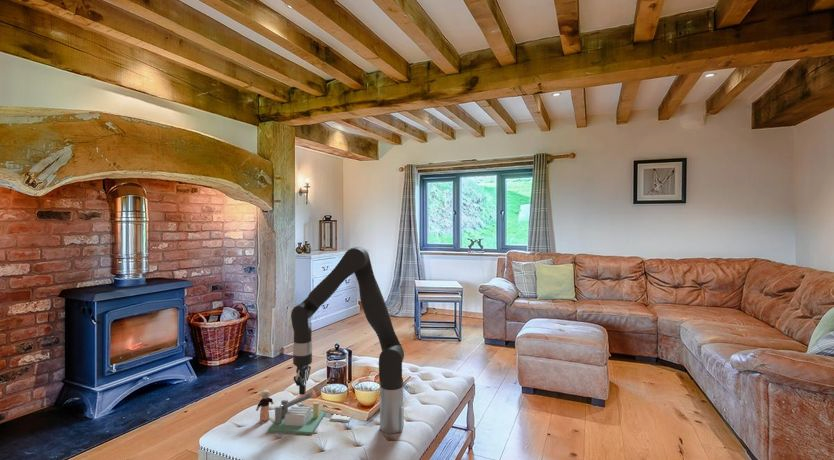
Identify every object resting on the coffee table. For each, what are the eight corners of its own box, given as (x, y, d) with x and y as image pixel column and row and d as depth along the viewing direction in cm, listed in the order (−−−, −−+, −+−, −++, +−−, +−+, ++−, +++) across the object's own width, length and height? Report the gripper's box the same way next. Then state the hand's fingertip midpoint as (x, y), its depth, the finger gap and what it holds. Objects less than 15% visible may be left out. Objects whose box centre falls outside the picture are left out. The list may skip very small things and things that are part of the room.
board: (325, 414, 166) (325, 396, 166) (312, 434, 150) (312, 415, 150) (285, 412, 168) (285, 395, 168) (267, 432, 152) (267, 413, 152)
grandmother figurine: (261, 425, 157) (261, 394, 157) (254, 423, 159) (254, 392, 159) (276, 416, 164) (275, 387, 164) (269, 414, 166) (269, 385, 165)
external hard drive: (358, 409, 172) (348, 423, 160) (341, 407, 174) (330, 421, 161) (358, 405, 172) (348, 419, 160) (341, 404, 174) (330, 417, 161)
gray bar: (315, 394, 160) (312, 389, 160) (311, 398, 156) (309, 393, 156) (282, 408, 162) (280, 403, 162) (278, 413, 158) (276, 408, 158)
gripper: (305, 358, 151) (305, 401, 152) (317, 347, 165) (316, 387, 165) (286, 357, 152) (286, 400, 152) (300, 346, 165) (299, 386, 166)
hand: (302, 393), depth 159 cm, fingers closed
